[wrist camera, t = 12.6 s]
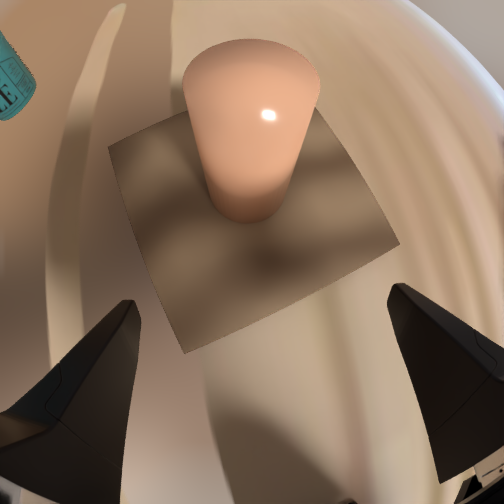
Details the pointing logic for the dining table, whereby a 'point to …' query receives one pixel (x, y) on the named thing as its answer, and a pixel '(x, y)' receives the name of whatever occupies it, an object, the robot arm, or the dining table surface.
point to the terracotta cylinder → (249, 122)
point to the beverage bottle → (13, 81)
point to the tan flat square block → (243, 230)
